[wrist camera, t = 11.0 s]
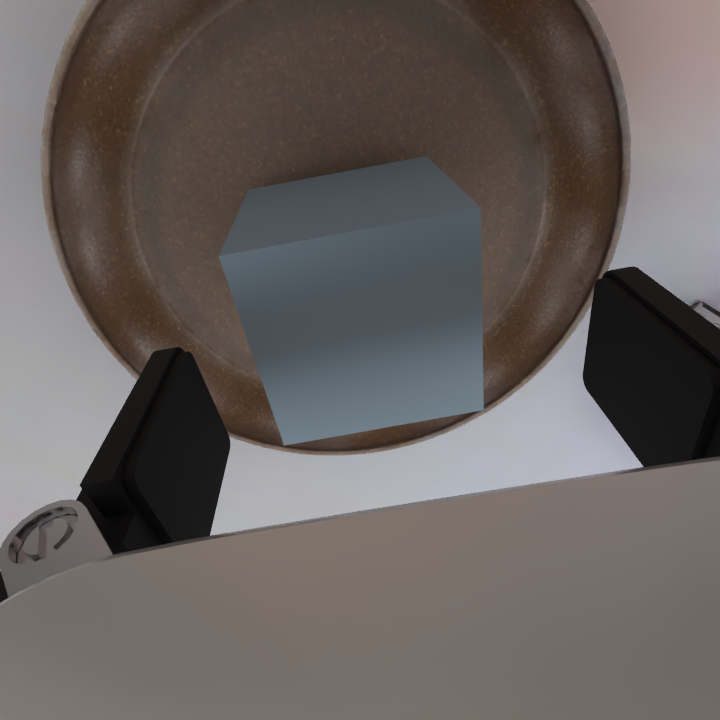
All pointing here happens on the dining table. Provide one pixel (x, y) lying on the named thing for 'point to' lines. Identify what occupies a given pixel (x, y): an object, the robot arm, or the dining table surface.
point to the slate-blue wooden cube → (361, 298)
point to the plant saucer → (329, 165)
